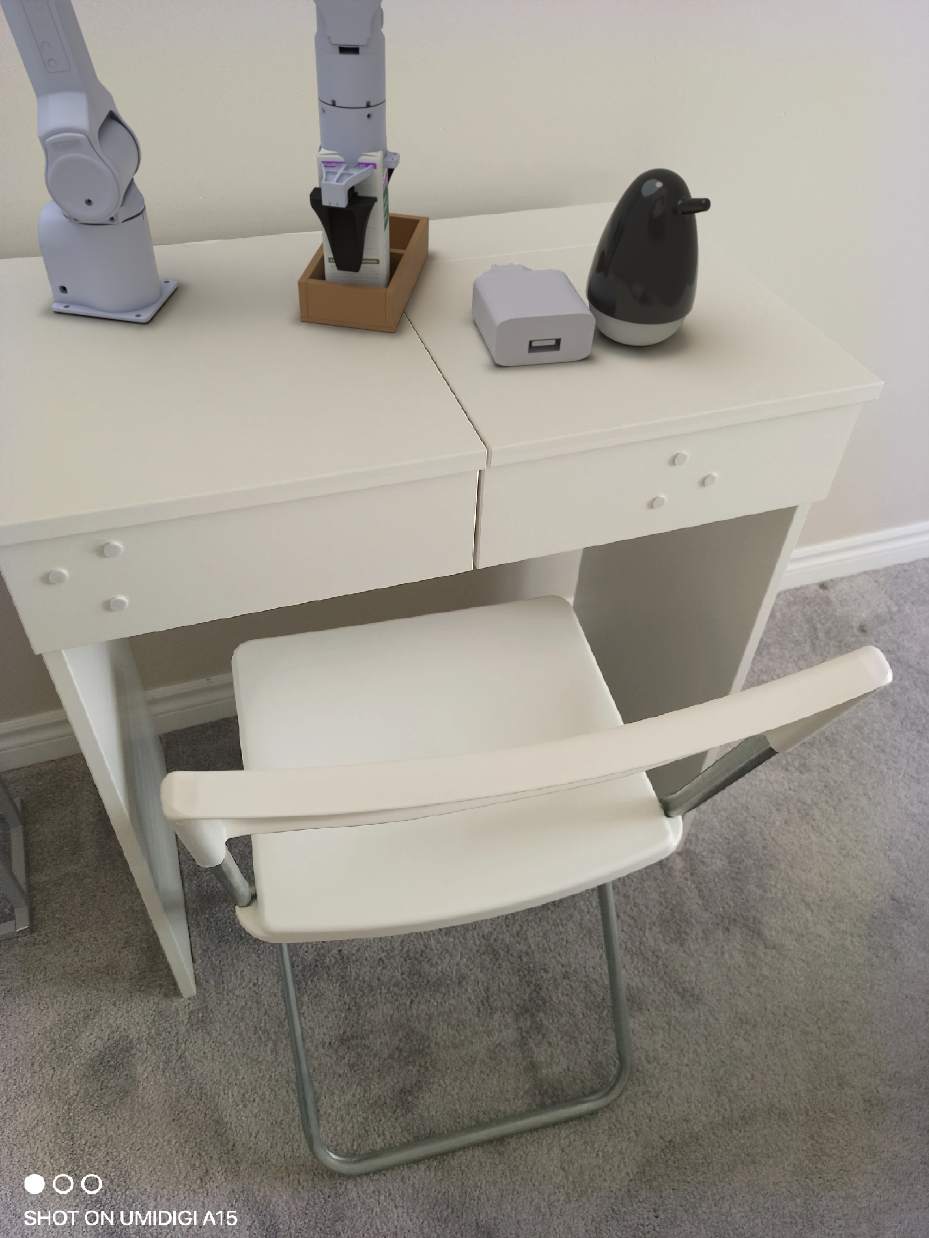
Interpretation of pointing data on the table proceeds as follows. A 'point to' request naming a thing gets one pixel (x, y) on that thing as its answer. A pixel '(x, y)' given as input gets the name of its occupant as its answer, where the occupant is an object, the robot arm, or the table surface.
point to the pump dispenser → (647, 261)
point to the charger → (531, 316)
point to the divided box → (368, 302)
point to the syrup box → (377, 230)
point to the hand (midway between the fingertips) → (357, 254)
